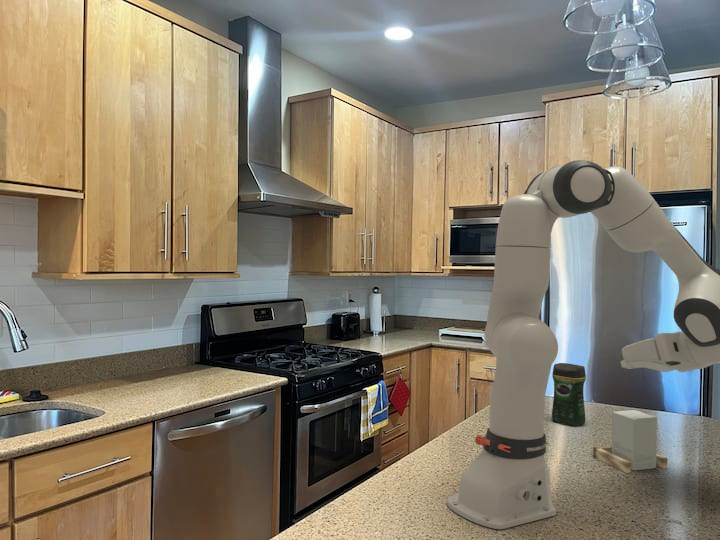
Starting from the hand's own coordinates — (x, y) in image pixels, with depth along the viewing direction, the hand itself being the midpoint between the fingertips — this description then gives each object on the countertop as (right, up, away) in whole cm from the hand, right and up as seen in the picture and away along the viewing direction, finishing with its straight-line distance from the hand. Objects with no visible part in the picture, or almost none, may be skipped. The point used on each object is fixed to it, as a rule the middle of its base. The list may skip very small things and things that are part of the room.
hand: (624, 365), depth 131 cm
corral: (+3, -25, +3) cm, 26 cm away
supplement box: (+4, -25, +2) cm, 26 cm away
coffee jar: (+1, -25, +38) cm, 46 cm away
